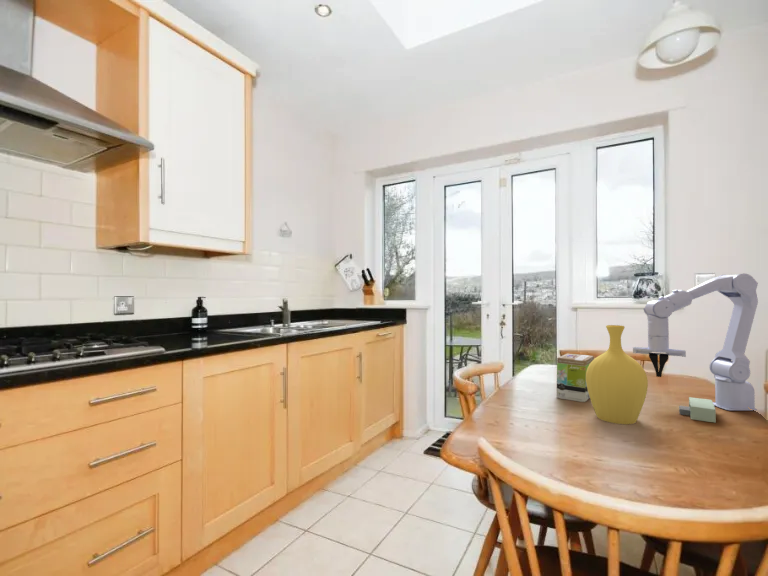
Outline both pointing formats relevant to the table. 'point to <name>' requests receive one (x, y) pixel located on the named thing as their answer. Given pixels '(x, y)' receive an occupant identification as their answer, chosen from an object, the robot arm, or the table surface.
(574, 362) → the tea box
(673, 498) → the table surface
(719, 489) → the table surface
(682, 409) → the gray block
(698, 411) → the pale green block
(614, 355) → the vase
